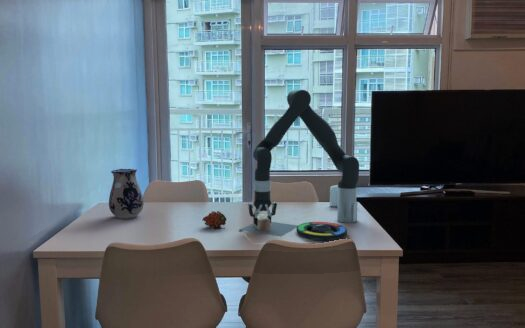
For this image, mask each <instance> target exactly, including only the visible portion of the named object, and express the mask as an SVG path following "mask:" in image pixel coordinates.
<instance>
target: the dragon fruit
mask: <svg viewBox="0 0 525 328" xmlns="http://www.w3.org/2000/svg"><path fill="white" fill-rule="evenodd" d="M201 221H203V222H204V225H205V226H207V227H211V228H212V229H214V228H217V229H218V228H221V226H225V225H226V221H227V217H226V215H225V214H223V213H222V212H221V211H219V210H216V211H211V212H209V213H208V215H205V216H204V217H203V218H202V220H201Z"/></svg>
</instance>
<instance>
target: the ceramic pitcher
mask: <svg viewBox="0 0 525 328" xmlns="http://www.w3.org/2000/svg"><path fill="white" fill-rule="evenodd" d="M137 171H138V170H137V168H136V169H134V168H117V169H113V170H112V171H110V173H111V174H112V176H113V182H112V184H111V189H110V192H109V193H110V194H109V197H108V198H109V199H108V207H109V208H108V209H109V211H110V213H112V214H113V216H114V217H116V218H118V219H121V218H122V220H124V219H134V218H136V217H137V216H139V215H140V213H141V212H142V210H143V208H144V203H145V201H144V197H143V193H142V191H141V189H140V186H139V183H138V181H137V176H136V174H137Z"/></svg>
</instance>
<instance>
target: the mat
mask: <svg viewBox="0 0 525 328" xmlns="http://www.w3.org/2000/svg"><path fill="white" fill-rule="evenodd" d="M297 226H299V225H297V224H289V223H285V222H284V223H283V222H278V221H277V222H276V221H271V223H270V230H269V231H259V230H258V229H257V228H256V227H255V226H254V225H253V223H251V224H249V225H247V226H245V227H242V228H240V229H238V231H239V232H242V231H243V232H252V233H257V234H265V235H271V236H275V237H276V236H278V237H283V236H285V235H286V234H288V233H290V232H291V231H293V230H295V229H297Z"/></svg>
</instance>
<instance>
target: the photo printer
mask: <svg viewBox="0 0 525 328" xmlns="http://www.w3.org/2000/svg"><path fill="white" fill-rule="evenodd" d="M329 206H330V207H331V206H332V207H338V184H336V185H331V186H330V188H329Z"/></svg>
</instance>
